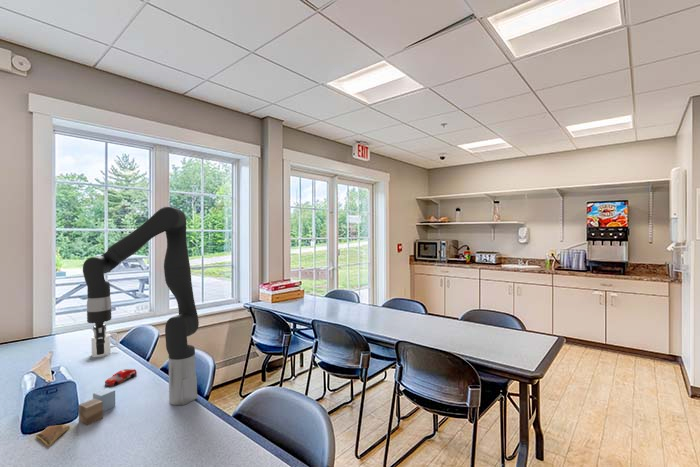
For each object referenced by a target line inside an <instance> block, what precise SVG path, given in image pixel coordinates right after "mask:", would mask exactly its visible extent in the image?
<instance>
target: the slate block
mask: <svg viewBox="0 0 700 467" xmlns="http://www.w3.org/2000/svg"><path fill="white" fill-rule="evenodd" d="M94 398H95V399H98V400H100V401H103V412H105V411H107V410H109V409H112V408H115V407H116V390H115V389H112V388H111V387H105V388H104V389H100V390H97V391H95V392H93V393H92V399H94Z"/></svg>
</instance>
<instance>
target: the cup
mask: <svg viewBox="0 0 700 467" xmlns="http://www.w3.org/2000/svg"><path fill="white" fill-rule="evenodd" d="M112 336H115V338H116V342H115V344H114V345H113V344H111V337H112ZM90 339H91V357H93V358H101V357H105V356H108V355H110V354H111V349H112V348H117V347H118V343H119V335H118V333H116V332H115V333H114V332H113V333H106V337H105V338H104V340H105V343H104V354H100V355H97V348H96V340H95V339H94V335H92V336H91V338H90Z"/></svg>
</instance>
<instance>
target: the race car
mask: <svg viewBox="0 0 700 467" xmlns="http://www.w3.org/2000/svg"><path fill="white" fill-rule="evenodd" d="M137 374H138V372H137V370H136V369H135V368H128V369H127V368H126V369H125V368H124V369H122V370H119V371H117V372H116V373H114V374H112V376H111V377H109V378H107V379H106V380H105V381H104V385H105V386H106V387H107V386H108V387H112V386H114V387H115V386H116V387H117V386H118V385H119V384H121V383H123V382H125V381H128V380H129V379H133V378H134V377H136V376H137Z"/></svg>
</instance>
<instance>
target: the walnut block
mask: <svg viewBox="0 0 700 467" xmlns="http://www.w3.org/2000/svg"><path fill="white" fill-rule="evenodd" d="M103 412H104V411H103V401H100V400H98V399H95V398H94V399H93V398H92V399H90V400H87V401H85V402H82V403H80V404H78V422H79V423H80V424H82V425H85V426H89V425H91V424H94V423H96V422H97V421H100V420H102V419H103V417H104V414H103Z"/></svg>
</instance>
